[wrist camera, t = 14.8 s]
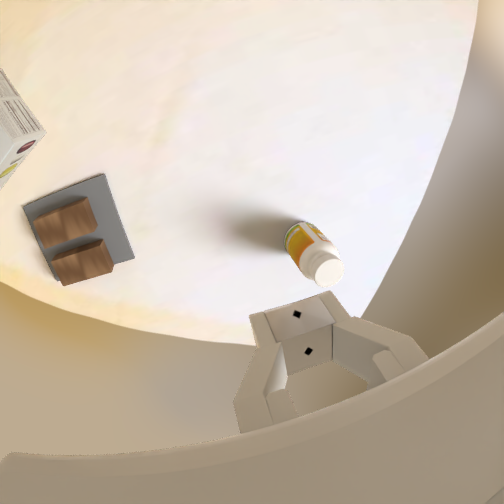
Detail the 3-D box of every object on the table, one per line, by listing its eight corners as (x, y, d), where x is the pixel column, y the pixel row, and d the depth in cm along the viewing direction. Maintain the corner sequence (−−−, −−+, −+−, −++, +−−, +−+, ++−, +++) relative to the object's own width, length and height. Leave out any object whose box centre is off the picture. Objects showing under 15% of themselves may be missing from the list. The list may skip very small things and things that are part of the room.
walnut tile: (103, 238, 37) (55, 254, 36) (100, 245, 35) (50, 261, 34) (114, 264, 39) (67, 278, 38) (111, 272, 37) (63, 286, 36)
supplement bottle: (284, 258, 45) (308, 297, 36) (281, 224, 42) (308, 258, 34) (318, 251, 45) (348, 286, 37) (317, 218, 43) (351, 249, 34)
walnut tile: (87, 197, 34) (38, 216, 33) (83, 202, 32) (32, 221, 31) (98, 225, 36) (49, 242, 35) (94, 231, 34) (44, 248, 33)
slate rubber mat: (24, 206, 32) (23, 207, 32) (104, 173, 33) (104, 174, 33) (57, 280, 38) (57, 281, 38) (134, 257, 39) (134, 258, 39)
